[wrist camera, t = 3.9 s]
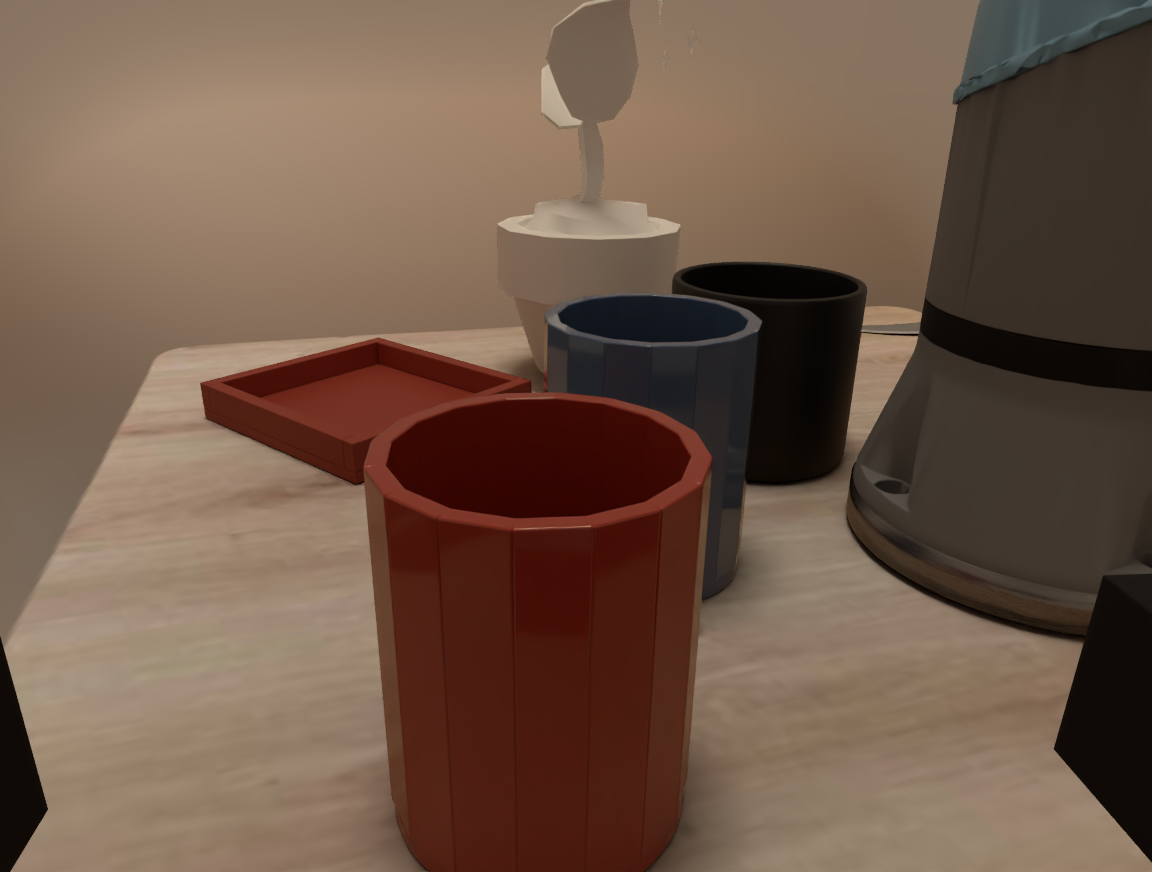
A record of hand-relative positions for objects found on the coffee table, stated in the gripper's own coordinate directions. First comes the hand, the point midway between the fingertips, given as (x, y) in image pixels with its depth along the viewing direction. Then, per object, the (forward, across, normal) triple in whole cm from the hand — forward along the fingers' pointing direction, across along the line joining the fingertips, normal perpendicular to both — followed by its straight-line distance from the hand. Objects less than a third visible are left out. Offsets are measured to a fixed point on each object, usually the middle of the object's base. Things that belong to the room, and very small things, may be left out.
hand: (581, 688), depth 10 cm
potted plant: (+47, +5, -11) cm, 48 cm away
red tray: (+39, -8, -11) cm, 41 cm away
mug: (+34, +13, -11) cm, 38 cm away
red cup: (+10, 0, -11) cm, 15 cm away
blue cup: (+22, +5, -11) cm, 25 cm away
